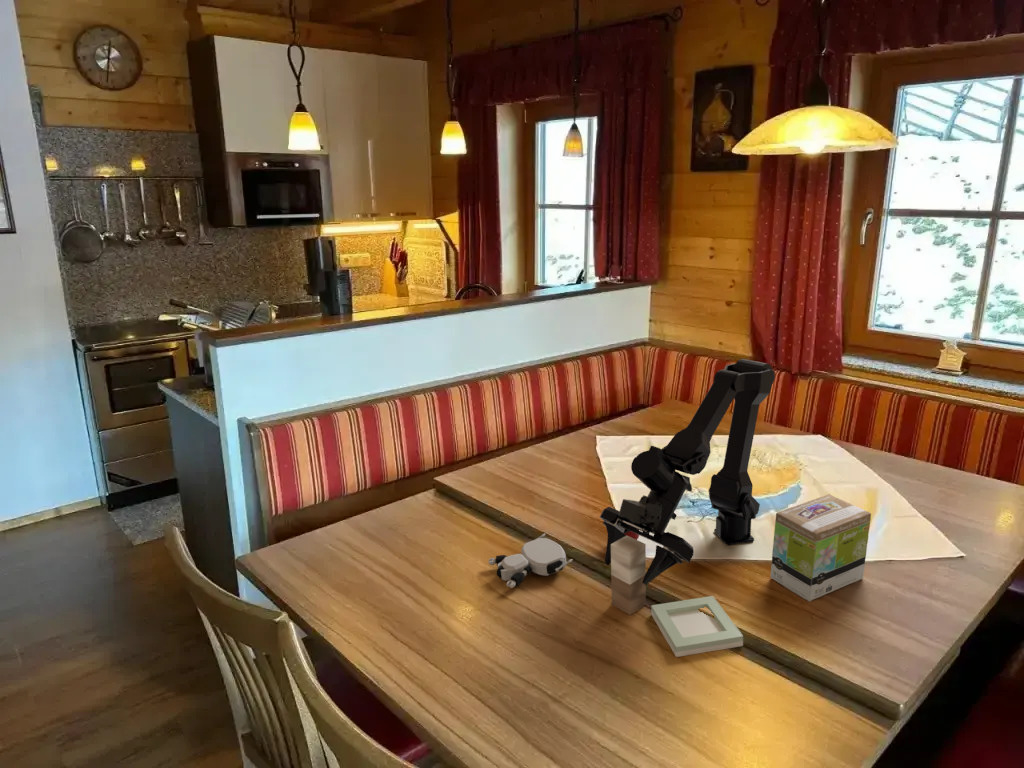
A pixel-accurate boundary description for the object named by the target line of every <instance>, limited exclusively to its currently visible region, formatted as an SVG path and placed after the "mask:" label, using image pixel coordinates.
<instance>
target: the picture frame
mask: <svg viewBox="0 0 1024 768" xmlns="http://www.w3.org/2000/svg"><path fill="white" fill-rule="evenodd" d="M704 607H707V608H708V609H709V610H710V611H711V613H712V614H713V615H714V618H715V619H714V618H712V617H710V616H708V615H706V614H704V613H703V612H700V611H699V610H698V609H700V608H704ZM650 608H651V609H650V614H651V616H652V618H653V620H654V622H655V623H656V625H657V627H658V628H659V630H660V632H661V634H662V636H663V638H664V639H665V640H666V642H667V644H668V646H669V647H670V649H671V650H672V653H673V654H674V657H675V658H678V657H679V658H680V657H683V656H690V655H696V654H704V653H708V652H709V653H710V652H714V651H720V650H726V649H732V648H738V647H739V648H740V647H743V646H744V635H743V634H742V632H741V631H740V629H739V628H738V627H737V625H736V624H735V623H734V621H733V620H732V618H730V617H729V615H728V614H727V612H726V611H725V610H724V609H723V608H722V606H721V605H720V603H719V602H718V601H717V599H716V598H715V597H714V596H713V595H709V596H703V597H697V598H696V597H695V598H691V599H690V598H689V599H684V600H677V601H671V602H666V603H665V602H664V603H658V604H651V606H650Z"/></svg>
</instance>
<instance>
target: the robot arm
mask: <svg viewBox="0 0 1024 768" xmlns="http://www.w3.org/2000/svg"><path fill="white" fill-rule="evenodd" d="M775 380H776V372H775V370H774V369H773V367H772V366H771V364H770V363H767V362H761V361H757V360H756V361H755V360H751V359H745V358H741V359H737V361H736V362H735V363H730V364H726V365H725V366H724V369H723V368H722V369H720V370H717V371H716V372H715V374H714V376H713V383H712V384H711V386H710V387H709V390H708V391H707V393H706V395H705V397H703V399H702V401H701V403H700V405H699V407H698V408H697V410H696V412H695V414H694V415H693V416H692V418H691V420H690V422H689V423H688V425H687V426H686V427H685V428H682V429H681V430H680V431H677V432H676V433H675V434H674V436H672V438H671V440H670V441H669V442H668V443H667V444H666V445H665V446H664V447H662V448H661V447H658V446H656V445H655V446H654V445H651V446H650V447H649V449H648V450H644V451H642V452H640V453H638V454H637V456H635V457H634V458H633V459H632V462H631V473H632V474H633V475H634V477H636V478H637V479H638V480H639V481H640V482H641V483H642V484H643V485H644V486H646V487H647V489H649V490H650V491H649V492H648V495H647V496H646V495H643V496H641V497H640V499H639V500H638V501H637V500H634V499H626V498H622V501H621V504H620V509H619V510H618V509H616V508H613V507H611V506H607V507H606V508H604V509H602V511H601V514H600V515H599V519H601V520H602V523H603V524H602V525H603V526H605V529H606V532H607V541H606V550H605V554H604V555H605V556H604V565H606V566H610V565H611V544H612V543H614V542H616V541H618V540H619V539H621V538H623V537H625V536H626V535H625V534H624V533H628V532H630V531H631V532H633V533H636V534H638V535H639V537H643V538H645V539H647V540H650V541H651V542H654V543H656V544H658V545H655V555H654V558H653V559H652V561H651V563H650V565H649V567H648V569H646V574H645V576H644V579H643V581H642V583H643V584H645V585H648V584H649V583H651V582H652V581H653V580H655V579H656V578H657V577H659V576H660V575H661V574H662V573H665V571H666V570H669V569H670V568H672V567H673V566H675V565H677V564H680V565H682V564H683V561H685V562H687V563H691V560H692V558H693V557H694V546H692V545H691V543H689V542H688V541H687V540H685V539H684V538H683V537H681V536H679V535H677V534H674V533H672V532H669V531H667V532H665V530H667V527H668V525H669V523H670V521H671V520H674V521H675V520H676V517H677V516H678V515H677V514H676V513H675V511H676V509H677V507H678V505H679V503H680V502H681V500H682V497H683V495H684V493H685V491H688V492H692V489H693V487H692V483H691V481H690V480H691V477H690V476H686V474H687V475H692V476H694V475H697V474H701V472H702V471H703V470H704V469H705V468H706V465H707V463H708V460H709V457H710V455H711V453H712V451H711V440H712V438H713V435H714V434H715V432H716V431H717V429H718V427H719V425H720V423H721V422H722V421H723V418H724V416H725V414H726V413H727V411H728V410H729V408H730V406H731V404H732V402H734V406H733V411H732V415H731V416H732V417H731V422H730V428H729V433H728V438H727V444H726V449H725V455H724V462H723V466H722V468H721V469H720V470H719V471H718V472H717V473H715V474H712V476H711V477H710V485H709V489H708V496H709V497H708V500H710V504H711V509H713V510H717V511H718V512H717V513H718V514H717V516H716V517H715V528H714V530H713V531H714V533H715V534H716V535H717V536H718V537H719V538H720V540H721V541H722V542H723V544H725V545H727V546H730V545H737V544H743V543H751V542H754V541H755V537H753V536H752V535H751V532H752V531H751V530H752V520H755V519H756V518H757V515H758V513H759V511H760V508H761V507H760V505H761V504H760V503H759V502H758V500H756V499H755V498H754V496H753V487H754V486H753V482H752V480H751V477H750V475H749V473H748V469H749V465H750V464H749V462H750V458H751V451H752V447H753V441H754V436H755V432H756V426H757V419H758V415H759V408H760V405H761V403H762V402H764V400H765V399H766V398H767V397H769V395H770V393H771V389H772V387H773V384H774V382H775ZM733 400H734V401H733ZM680 472H681V473H684V474H685V475H684V474H681V473H680ZM652 534H653V535H652Z"/></svg>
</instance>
